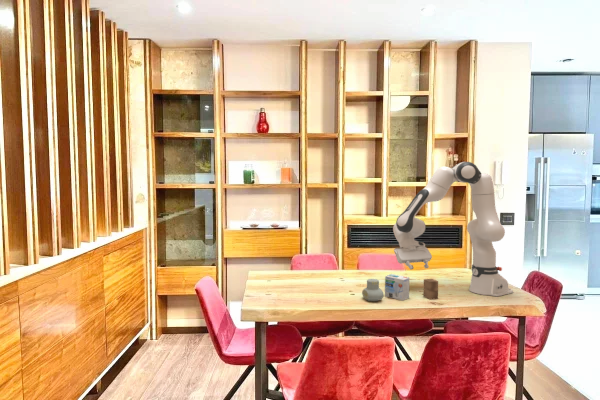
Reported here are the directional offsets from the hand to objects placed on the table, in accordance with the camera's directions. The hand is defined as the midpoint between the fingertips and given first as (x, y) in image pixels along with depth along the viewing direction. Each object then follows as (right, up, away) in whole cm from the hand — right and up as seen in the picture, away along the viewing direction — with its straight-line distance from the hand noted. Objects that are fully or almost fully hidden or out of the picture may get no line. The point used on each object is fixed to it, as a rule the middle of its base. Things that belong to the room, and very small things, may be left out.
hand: (419, 268), depth 200 cm
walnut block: (+3, -14, -8) cm, 16 cm away
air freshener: (-27, -14, -12) cm, 33 cm away
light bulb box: (-14, -14, -8) cm, 21 cm away
